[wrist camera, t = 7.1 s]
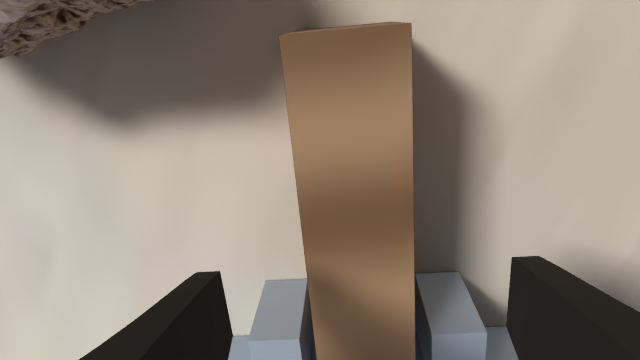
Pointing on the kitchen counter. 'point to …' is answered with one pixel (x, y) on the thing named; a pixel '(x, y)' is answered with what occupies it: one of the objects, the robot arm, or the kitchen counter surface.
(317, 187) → the brown block
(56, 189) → the kitchen counter surface
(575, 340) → the robot arm
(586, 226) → the kitchen counter surface
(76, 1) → the coral
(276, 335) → the blue-grey stepped platform
